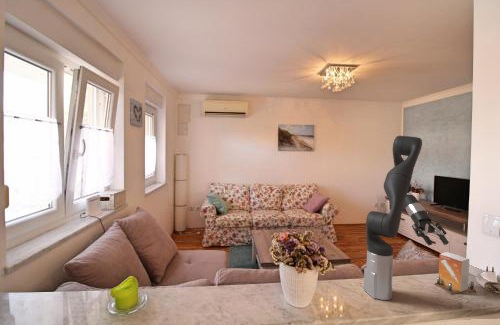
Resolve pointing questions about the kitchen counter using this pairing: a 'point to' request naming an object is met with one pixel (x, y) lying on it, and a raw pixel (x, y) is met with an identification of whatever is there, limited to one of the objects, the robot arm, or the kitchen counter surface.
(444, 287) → the pin plate
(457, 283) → the small box
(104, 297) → the kitchen counter surface
